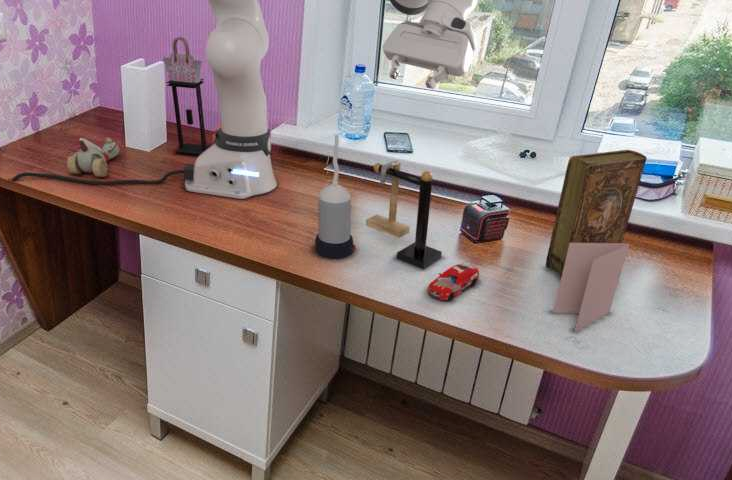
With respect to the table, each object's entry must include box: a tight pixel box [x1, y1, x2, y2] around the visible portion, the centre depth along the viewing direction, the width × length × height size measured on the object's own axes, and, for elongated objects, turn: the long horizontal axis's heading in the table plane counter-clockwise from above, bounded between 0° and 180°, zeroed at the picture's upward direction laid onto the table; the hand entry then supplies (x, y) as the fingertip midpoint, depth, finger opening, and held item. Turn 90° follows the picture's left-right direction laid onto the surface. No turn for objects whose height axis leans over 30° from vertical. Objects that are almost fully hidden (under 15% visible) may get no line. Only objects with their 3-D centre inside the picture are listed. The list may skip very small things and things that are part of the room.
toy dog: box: [66, 136, 121, 178], centre depth 165 cm, size 12×19×9 cm, turn 19°
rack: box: [373, 162, 443, 270], centre depth 135 cm, size 7×16×20 cm, turn 56°
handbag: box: [162, 36, 211, 157], centre depth 174 cm, size 10×8×30 cm
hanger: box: [365, 160, 411, 239], centre depth 136 cm, size 6×9×15 cm, turn 55°
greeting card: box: [552, 242, 630, 332], centre depth 118 cm, size 11×7×15 cm, turn 97°
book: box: [545, 149, 647, 278], centre depth 133 cm, size 16×6×25 cm, turn 117°
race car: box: [427, 262, 480, 302], centre depth 128 cm, size 13×5×4 cm, turn 140°
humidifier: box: [314, 134, 356, 260], centre depth 132 cm, size 8×8×25 cm
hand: (410, 81), depth 136 cm, fingers open, 8 cm apart
